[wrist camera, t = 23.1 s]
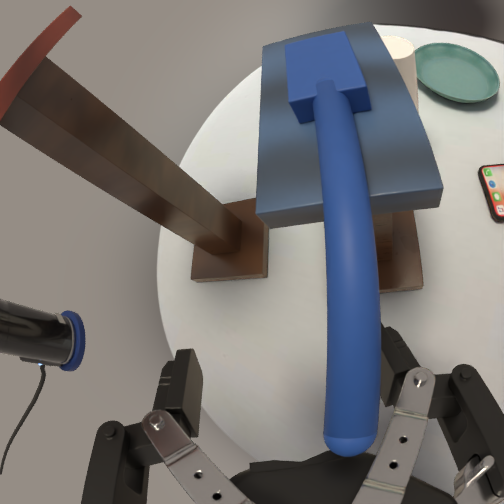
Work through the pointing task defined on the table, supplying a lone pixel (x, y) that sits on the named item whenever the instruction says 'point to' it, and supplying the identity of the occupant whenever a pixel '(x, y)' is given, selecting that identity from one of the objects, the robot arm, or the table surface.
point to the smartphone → (494, 188)
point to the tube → (404, 62)
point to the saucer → (456, 72)
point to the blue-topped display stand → (372, 149)
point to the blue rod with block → (343, 236)
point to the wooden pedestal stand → (127, 162)
